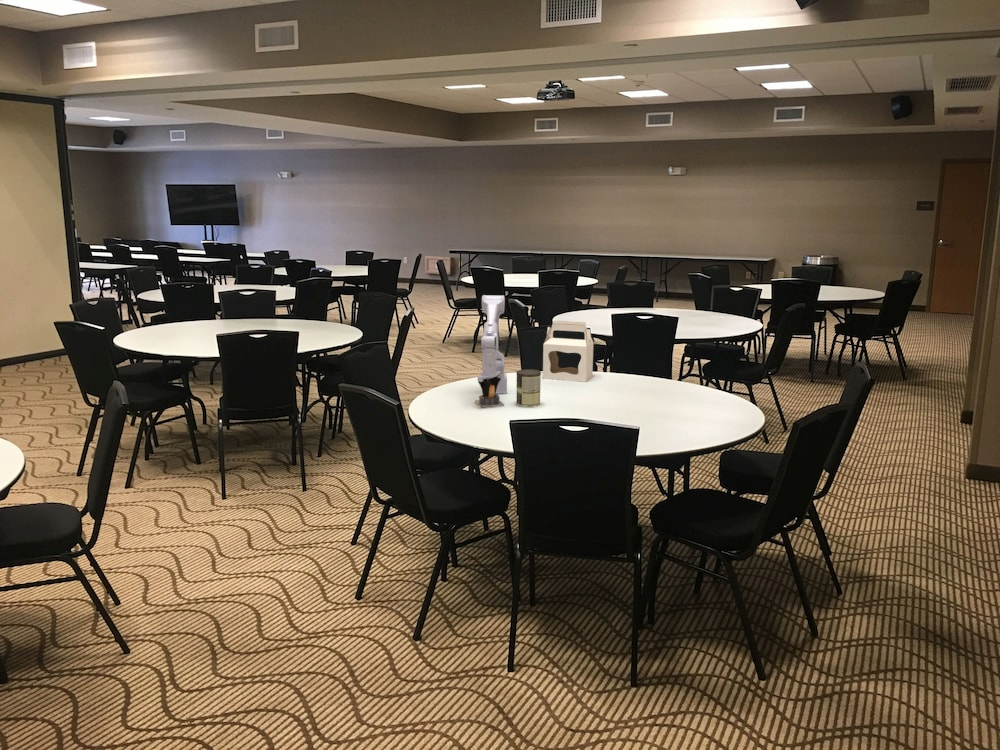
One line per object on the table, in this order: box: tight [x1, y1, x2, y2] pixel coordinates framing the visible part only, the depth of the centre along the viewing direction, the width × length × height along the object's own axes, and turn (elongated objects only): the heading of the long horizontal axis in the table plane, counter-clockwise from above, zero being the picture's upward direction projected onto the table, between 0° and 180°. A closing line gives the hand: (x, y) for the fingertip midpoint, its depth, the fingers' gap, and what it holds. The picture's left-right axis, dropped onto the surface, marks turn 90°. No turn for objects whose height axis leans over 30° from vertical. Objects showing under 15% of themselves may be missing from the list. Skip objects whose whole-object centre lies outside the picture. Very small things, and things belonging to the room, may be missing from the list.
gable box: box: [542, 320, 594, 383], centre depth 375 cm, size 22×13×28 cm, turn 70°
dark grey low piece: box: [474, 394, 505, 409], centre depth 323 cm, size 10×10×4 cm
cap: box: [484, 384, 496, 398], centre depth 323 cm, size 4×4×6 cm
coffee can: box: [515, 368, 542, 408], centre depth 323 cm, size 10×10×14 cm
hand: (489, 395), depth 323 cm, fingers closed on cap, 4 cm apart
